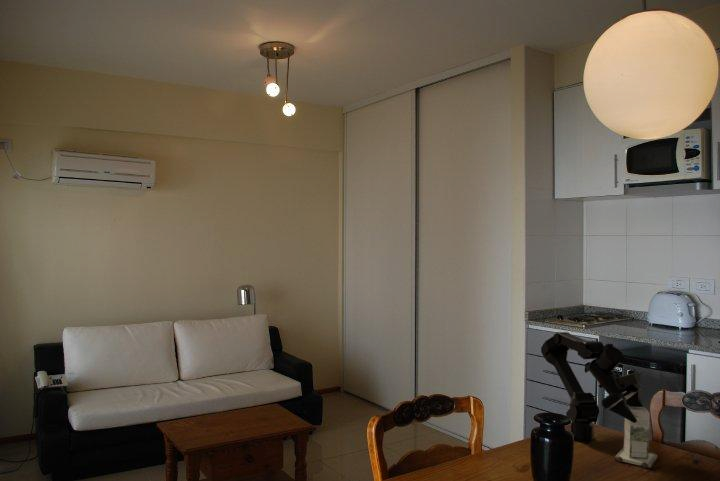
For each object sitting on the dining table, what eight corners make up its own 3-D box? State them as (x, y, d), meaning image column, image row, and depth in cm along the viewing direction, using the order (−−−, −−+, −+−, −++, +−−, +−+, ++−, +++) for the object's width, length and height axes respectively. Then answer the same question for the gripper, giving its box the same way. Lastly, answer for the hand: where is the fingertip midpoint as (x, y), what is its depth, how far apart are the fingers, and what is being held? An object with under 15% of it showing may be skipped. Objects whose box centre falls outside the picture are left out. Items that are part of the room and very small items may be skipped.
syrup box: (642, 452, 184) (643, 406, 184) (649, 459, 178) (649, 412, 178) (623, 451, 185) (623, 405, 185) (629, 458, 179) (630, 411, 179)
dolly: (614, 461, 180) (614, 455, 180) (623, 450, 189) (623, 445, 189) (649, 469, 174) (649, 463, 174) (657, 457, 183) (657, 452, 183)
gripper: (612, 366, 177) (650, 411, 169) (635, 357, 190) (671, 398, 183) (586, 387, 183) (621, 431, 175) (610, 377, 196) (644, 417, 188)
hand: (641, 419), depth 180 cm, fingers open, 8 cm apart
